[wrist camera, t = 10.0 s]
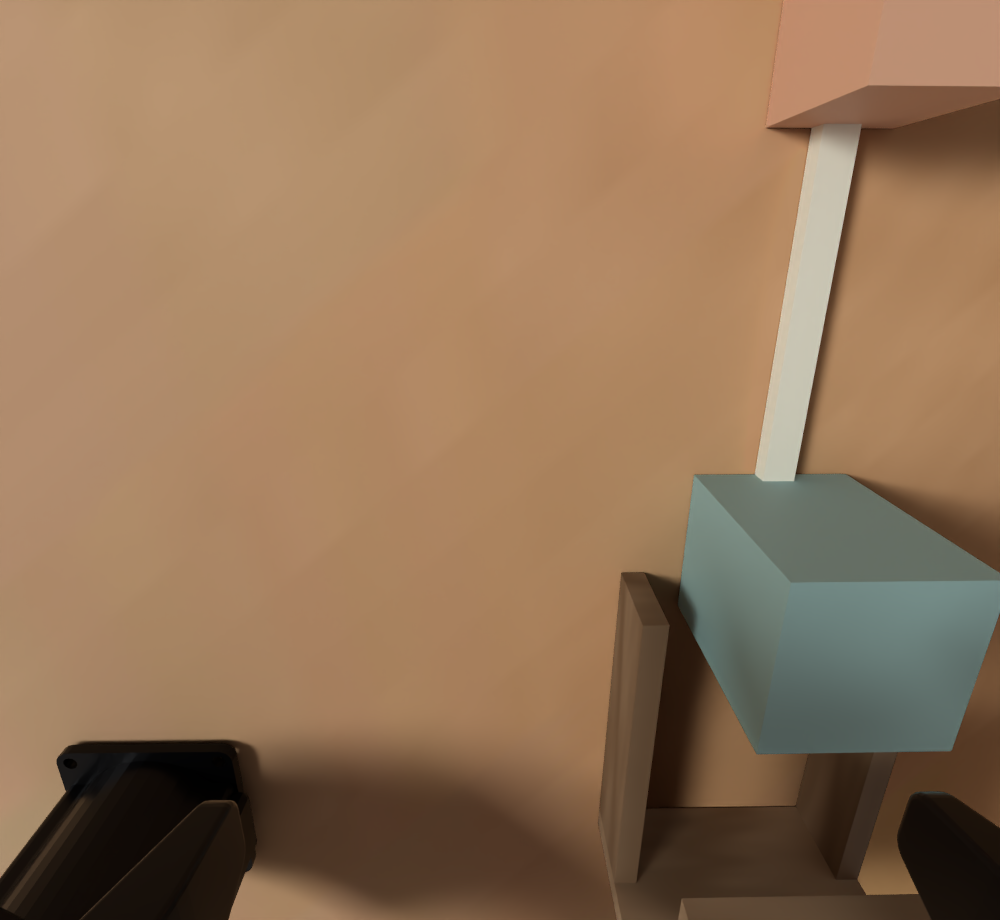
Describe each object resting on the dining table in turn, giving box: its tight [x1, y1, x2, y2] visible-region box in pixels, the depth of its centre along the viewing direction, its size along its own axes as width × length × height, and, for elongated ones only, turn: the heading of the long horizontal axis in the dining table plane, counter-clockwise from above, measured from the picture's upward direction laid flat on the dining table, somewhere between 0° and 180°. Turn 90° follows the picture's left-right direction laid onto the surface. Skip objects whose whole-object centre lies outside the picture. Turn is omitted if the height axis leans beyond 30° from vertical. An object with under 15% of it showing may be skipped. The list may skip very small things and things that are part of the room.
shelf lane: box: [598, 573, 931, 920], centre depth 18 cm, size 9×12×9 cm
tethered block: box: [678, 0, 1000, 754], centre depth 15 cm, size 5×18×6 cm, turn 0°
